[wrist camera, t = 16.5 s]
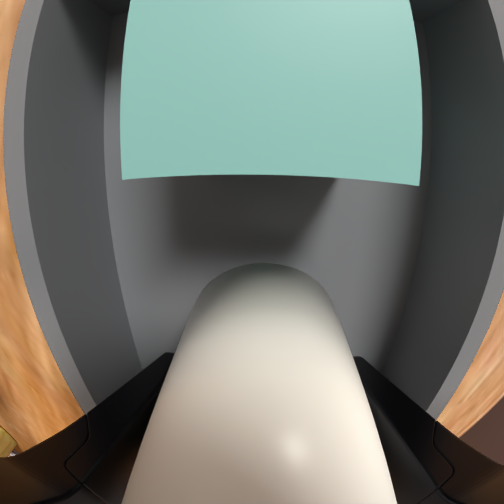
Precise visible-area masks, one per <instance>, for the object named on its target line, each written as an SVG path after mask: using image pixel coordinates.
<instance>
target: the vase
mask: <svg viewBox="0 0 504 504" xmlns="http://www.w3.org/2000/svg"><path fill="white" fill-rule="evenodd" d="M16 445H17V443H16V441H15V440H14V439H13V438H12V436H11V435H10V434H8V433H7V432H6V431H5V430H4V429H3V428H2V427H1V426H0V457H8V456H9V455H10V453H11V452H12V450H13V449H14V447H15V446H16Z"/></svg>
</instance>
